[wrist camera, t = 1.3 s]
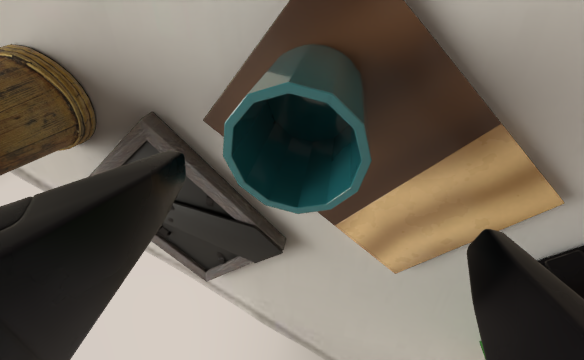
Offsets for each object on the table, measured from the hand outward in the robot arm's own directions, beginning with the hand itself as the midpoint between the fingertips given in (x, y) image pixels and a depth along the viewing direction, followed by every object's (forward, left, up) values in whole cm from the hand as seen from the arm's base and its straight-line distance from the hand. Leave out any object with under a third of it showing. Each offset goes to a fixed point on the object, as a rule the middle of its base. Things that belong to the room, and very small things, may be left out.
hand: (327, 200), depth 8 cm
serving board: (-7, +2, -14) cm, 16 cm away
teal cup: (0, +2, -13) cm, 13 cm away
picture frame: (+1, +21, -14) cm, 26 cm away
